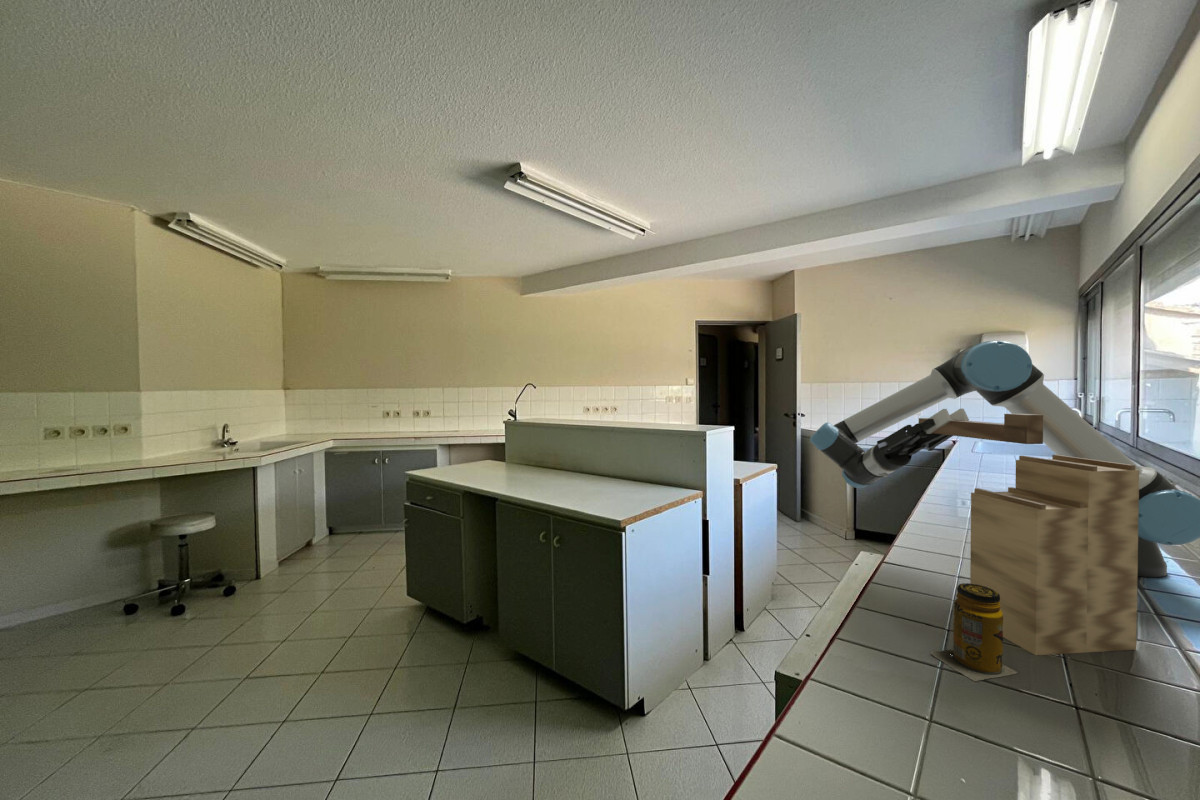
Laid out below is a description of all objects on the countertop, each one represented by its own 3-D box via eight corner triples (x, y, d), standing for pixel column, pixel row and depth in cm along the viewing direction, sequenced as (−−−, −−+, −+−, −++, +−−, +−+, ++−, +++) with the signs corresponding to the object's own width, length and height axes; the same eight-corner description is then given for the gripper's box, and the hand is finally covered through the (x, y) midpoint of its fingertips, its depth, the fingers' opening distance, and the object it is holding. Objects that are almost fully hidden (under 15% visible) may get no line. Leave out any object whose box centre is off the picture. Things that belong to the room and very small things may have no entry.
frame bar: (931, 431, 101) (931, 409, 101) (1042, 443, 77) (1043, 414, 77) (918, 431, 101) (918, 409, 101) (1026, 444, 77) (1026, 415, 77)
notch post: (1057, 613, 87) (1059, 454, 86) (1136, 649, 75) (1139, 465, 74) (970, 618, 85) (971, 456, 85) (1035, 655, 73) (1037, 467, 73)
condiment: (1018, 673, 69) (1019, 596, 69) (974, 682, 67) (975, 603, 67) (969, 647, 76) (969, 577, 76) (929, 654, 74) (929, 582, 74)
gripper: (923, 470, 112) (1001, 430, 91) (861, 471, 111) (926, 431, 90) (912, 442, 115) (984, 398, 95) (851, 443, 114) (912, 399, 94)
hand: (955, 414), depth 93 cm, fingers closed on frame bar, 3 cm apart
